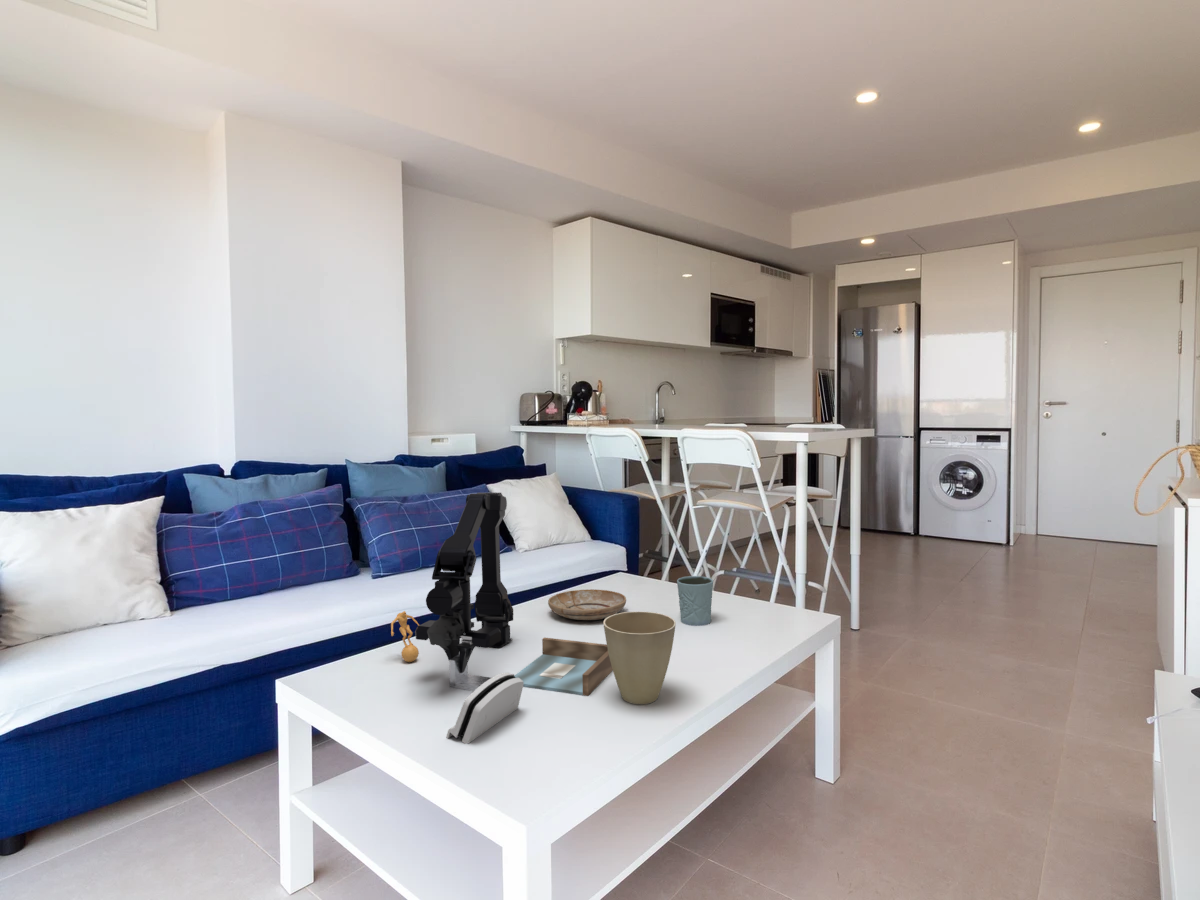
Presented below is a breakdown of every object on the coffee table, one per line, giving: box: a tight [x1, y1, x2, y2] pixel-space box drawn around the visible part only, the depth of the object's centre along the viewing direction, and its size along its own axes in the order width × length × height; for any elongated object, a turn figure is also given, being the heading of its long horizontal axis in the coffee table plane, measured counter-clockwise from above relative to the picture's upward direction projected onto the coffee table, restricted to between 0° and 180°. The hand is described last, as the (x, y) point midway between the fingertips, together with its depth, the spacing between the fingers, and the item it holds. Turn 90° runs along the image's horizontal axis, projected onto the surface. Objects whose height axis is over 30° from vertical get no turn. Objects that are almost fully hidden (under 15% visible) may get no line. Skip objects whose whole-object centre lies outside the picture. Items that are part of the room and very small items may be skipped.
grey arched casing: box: [446, 672, 524, 745], centre depth 126 cm, size 17×5×10 cm, turn 154°
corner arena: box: [514, 636, 613, 697], centre depth 151 cm, size 19×19×4 cm
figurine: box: [390, 610, 420, 663], centre depth 160 cm, size 8×6×12 cm
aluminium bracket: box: [448, 654, 492, 692], centre depth 145 cm, size 8×5×6 cm, turn 69°
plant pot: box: [602, 611, 677, 705], centre depth 137 cm, size 15×15×16 cm
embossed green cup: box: [676, 575, 714, 627], centre depth 189 cm, size 10×10×12 cm
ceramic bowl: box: [547, 589, 627, 621], centre depth 198 cm, size 23×24×5 cm
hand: (458, 671), depth 146 cm, fingers closed on aluminium bracket
